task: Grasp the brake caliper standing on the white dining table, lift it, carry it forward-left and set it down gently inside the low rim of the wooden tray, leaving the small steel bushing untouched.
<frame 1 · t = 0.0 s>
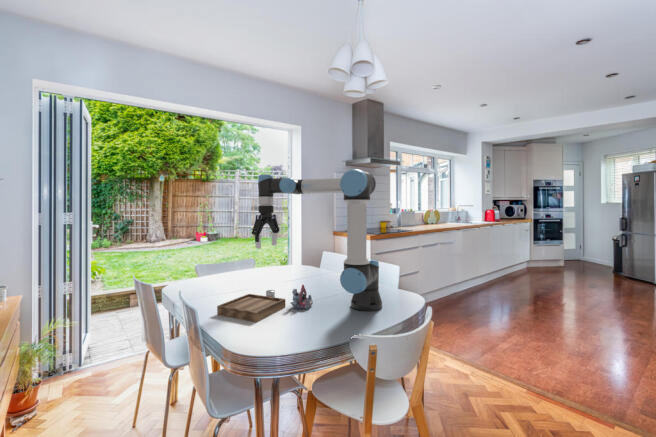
hand: (266, 246, 165), 28 cm above the table, fingers open, 13 cm apart
steel bushing: (270, 300, 167), on the table
wooden tray: (252, 310, 151), on the table
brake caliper: (302, 307, 157), on the table
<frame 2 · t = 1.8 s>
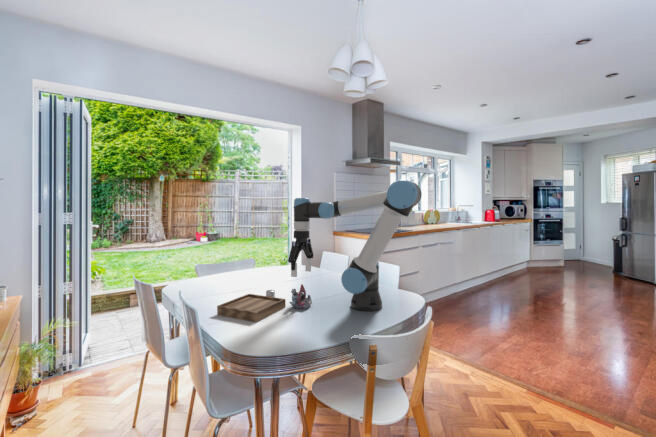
hand: (301, 274, 156), 16 cm above the table, fingers open, 13 cm apart
nothing on the table moved.
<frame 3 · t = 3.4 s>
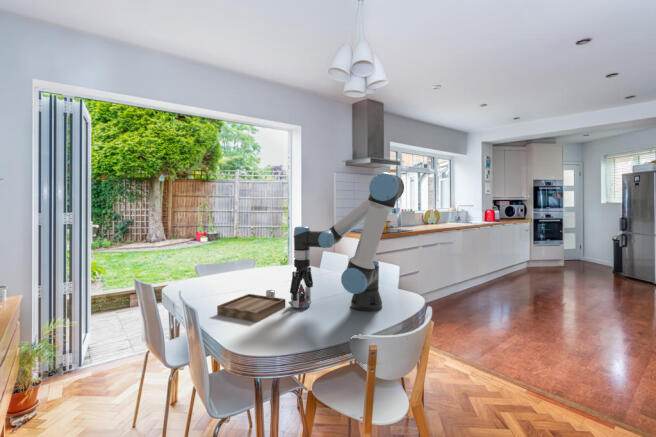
hand: (302, 303, 156), 2 cm above the table, fingers closed on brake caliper, 11 cm apart
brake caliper: (300, 306, 157), on the table, touching gripper
everything else where it was.
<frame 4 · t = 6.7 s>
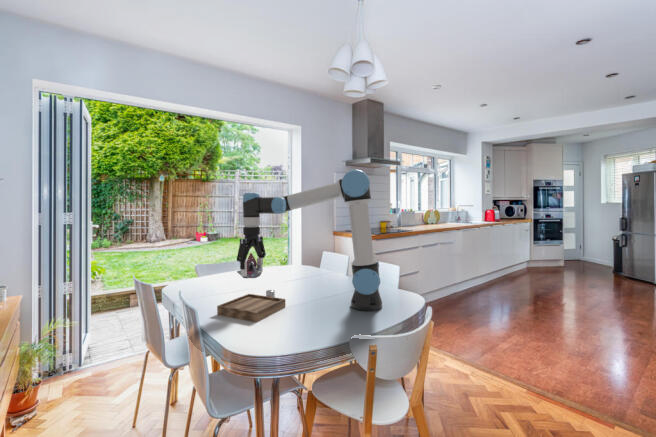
hand: (252, 273, 150), 17 cm above the table, fingers closed on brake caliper, 11 cm apart
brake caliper: (250, 277, 150), point 16 cm above the table, touching gripper
everything else where it was.
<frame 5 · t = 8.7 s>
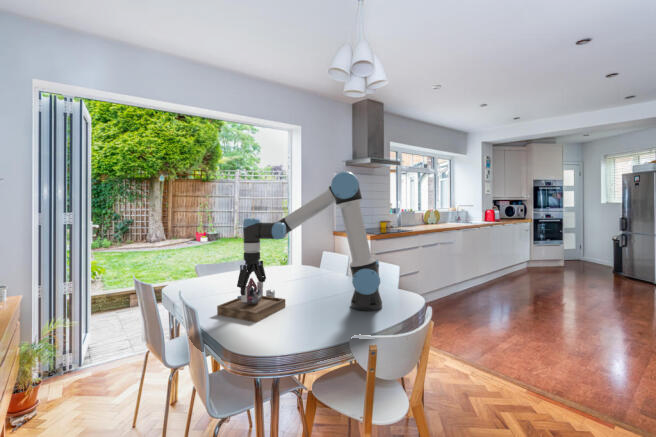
hand: (252, 298, 150), 6 cm above the table, fingers closed on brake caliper, 11 cm apart
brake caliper: (250, 301, 151), point 4 cm above the table, touching gripper
everything else where it was.
when the fingers open (5 cm above the table, at t = 10.3 s): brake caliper stays where it is, resting on wooden tray.
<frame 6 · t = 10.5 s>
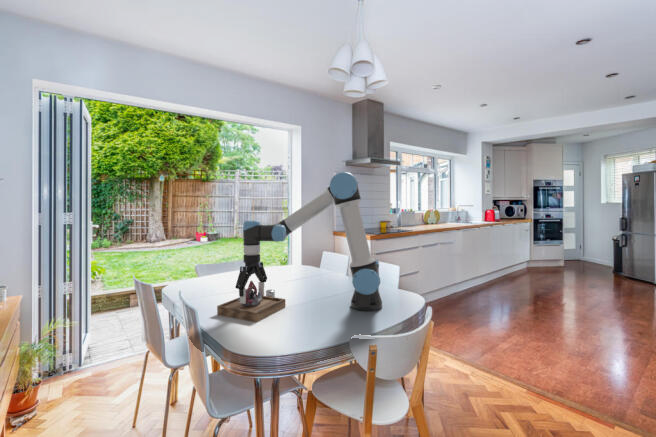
hand: (252, 299, 150), 5 cm above the table, fingers open, 13 cm apart
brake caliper: (250, 304, 151), point 3 cm above the table, touching wooden tray
everything else where it was.
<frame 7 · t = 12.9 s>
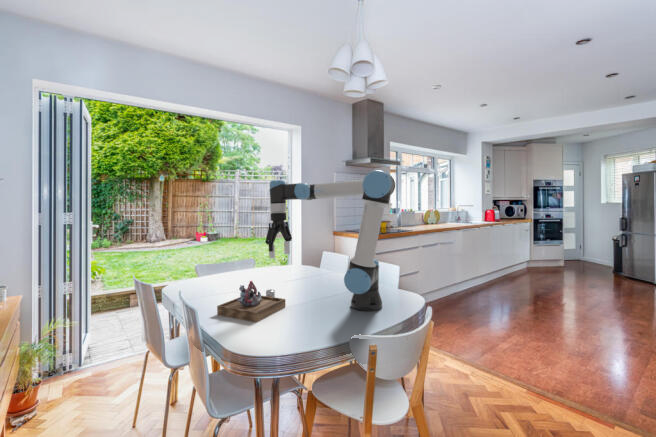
hand: (279, 256, 157), 25 cm above the table, fingers open, 13 cm apart
nothing on the table moved.
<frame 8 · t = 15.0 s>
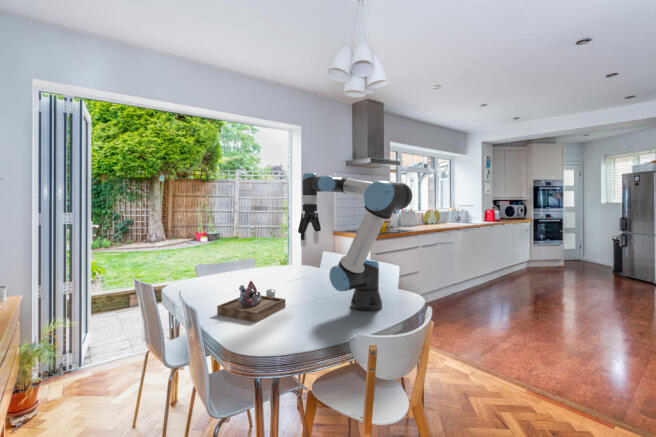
hand: (310, 244, 167), 29 cm above the table, fingers open, 13 cm apart
nothing on the table moved.
at the end: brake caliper inside the target area on the wooden tray (1.5 cm from its centre), point 2.8 cm above the wooden tray's base; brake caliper tilted 1°; the gripper is holding nothing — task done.
